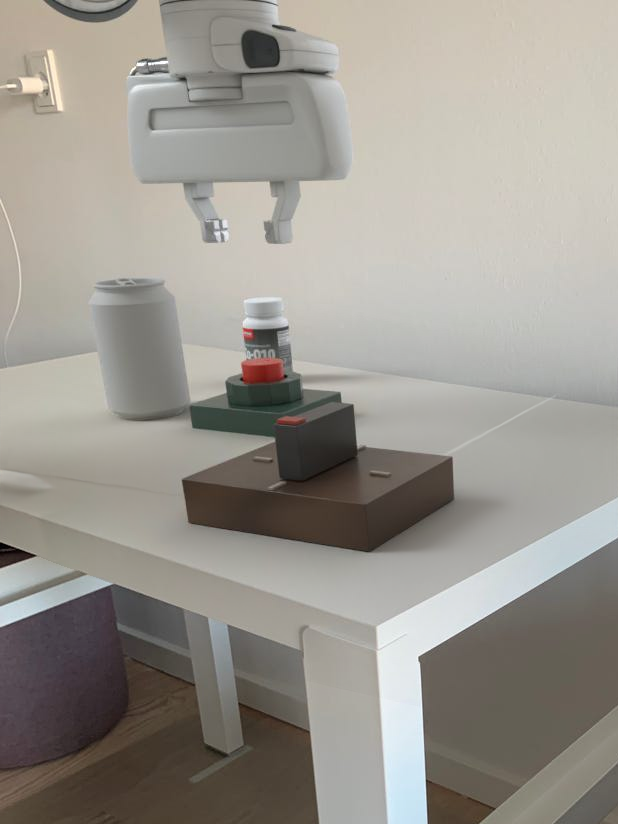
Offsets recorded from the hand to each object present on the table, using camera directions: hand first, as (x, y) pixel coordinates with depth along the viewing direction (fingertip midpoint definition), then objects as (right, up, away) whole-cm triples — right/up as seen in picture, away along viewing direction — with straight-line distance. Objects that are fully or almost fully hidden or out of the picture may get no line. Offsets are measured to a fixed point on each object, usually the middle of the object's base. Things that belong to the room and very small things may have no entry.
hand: (247, 243), depth 84 cm
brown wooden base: (+9, -24, -16) cm, 31 cm away
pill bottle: (-3, -6, +23) cm, 24 cm away
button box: (0, -14, +7) cm, 15 cm away
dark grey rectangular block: (+9, -22, -18) cm, 29 cm away
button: (0, -10, +5) cm, 11 cm away
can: (-12, -12, +11) cm, 20 cm away
